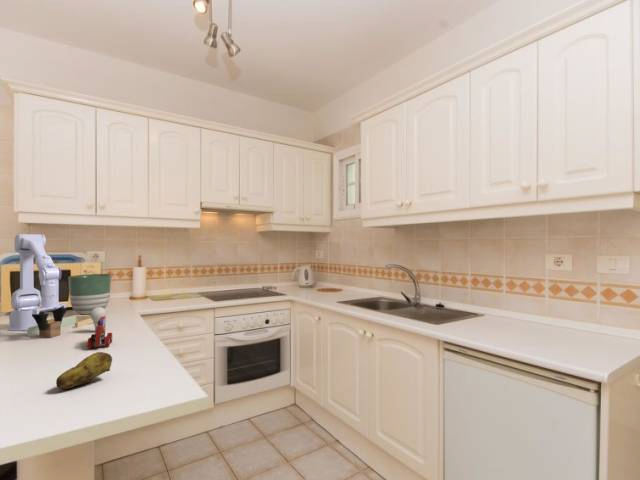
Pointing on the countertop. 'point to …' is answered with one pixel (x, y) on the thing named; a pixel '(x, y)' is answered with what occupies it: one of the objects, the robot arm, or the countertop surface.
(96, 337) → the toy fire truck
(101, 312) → the lightbulb
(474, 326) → the countertop surface
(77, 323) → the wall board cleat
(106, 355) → the potato
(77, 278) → the planter
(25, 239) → the robot arm
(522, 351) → the countertop surface
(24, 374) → the countertop surface
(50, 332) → the cabinet block
